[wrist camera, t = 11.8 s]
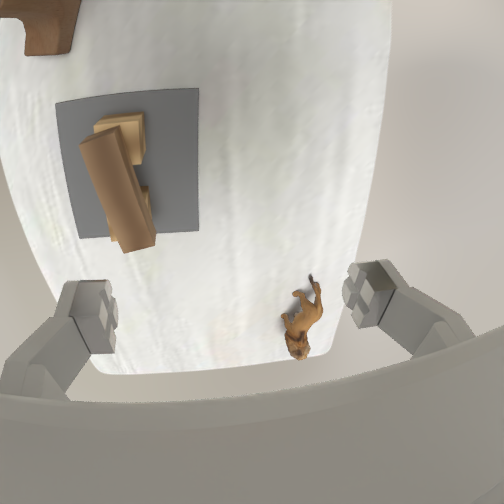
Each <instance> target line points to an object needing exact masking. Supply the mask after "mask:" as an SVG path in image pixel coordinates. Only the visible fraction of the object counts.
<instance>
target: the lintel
mask: <svg viewBox="0 0 504 504" xmlns="http://www.w3.org/2000/svg"><path fill="white" fill-rule="evenodd" d="M79 148H80V151H81V154H82V157H83V159H84V162H85V165H86V167H87V170H88V172H89V175H90V177H91V180H92V183H93V185H94V187H95V190H96V192H97V195H98V197H99V200H100V202H101V204H102V207H103V209H104V211H105V214H106V216H107V218H108V221H109V223H110V225H111V227H112V229H113V232H114V234H115V236H116V238H117V240H118V243H119V245H120V247H121V249H122V251H123V253H124V254H125V253H129V252H132V251H136V250H140V249H144V248H148V247H152V246H155V239H156V229H155V227H154V224H153V222H152V219H151V216H150V213H149V211H148V208H147V205H146V203H145V200H144V197H143V194H142V191H141V189H140V186H139V183H138V180H137V177H136V174H135V171H134V168H133V165H132V162H131V159H130V156H129V153H128V150H127V147H126V144H125V141H124V137H123V134H122V131H121V128H120V125H118V126H115V127H112V128H109V129H106V130H103V131H101V132H98V133H95V134H92V135H90V136H87V137H86V138H85V139H84V140H83V141H82V142H81V143H80V144H79Z"/></svg>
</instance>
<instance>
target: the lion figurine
mask: <svg viewBox="0 0 504 504" xmlns="http://www.w3.org/2000/svg"><path fill="white" fill-rule="evenodd" d="M309 279H310V283H311V284H312V287H313V289H314V291H315V294H316V297H315V301H314V304H313V303H311V302H310V301H309V300H307V299H306V297H305V294H304V293H302V292H299V291H295V292H293V296H294V297H297V296H299V297H300V301H301V307H302V309H303V311H301V312H300V313H299V312H296V313H295V314H294V317H295V318H294V320H293V323H291V322H290V321H289V317H288V315H287V314H282V315H281V318H283V319H284V321H285V327H286V329H287V331H286V333H285V340H286V345H287V347H288V351H289V352H290V355H291V356H292V357H294V358H296V359H297V360H303V359H305V358H307V354H309V351H310V349H311V348H310V346H309V343H308V341H307V332H308V330H309V328H310V327H311V326H312V324H313V323H315V322H316V321H318V320H319V319H320V318H321V316H322V313H323V307H322V303H321V297H320V294H321V289H320V286H319V284H318V283H314V282H313V277H312V276H310V278H309Z"/></svg>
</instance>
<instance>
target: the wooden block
mask: <svg viewBox="0 0 504 504" xmlns="http://www.w3.org/2000/svg"><path fill="white" fill-rule="evenodd" d="M80 3H81V0H0V18H18V19H19V20H21V21H22V22H23V24H24V28H25V32H26V40H25V52H24V54H25V56H45V55H59V54H66V53H69V51H70V47H71V42H72V37H73V32H74V27H75V23H76V19H77V14H78V10H79V6H80Z"/></svg>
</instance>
